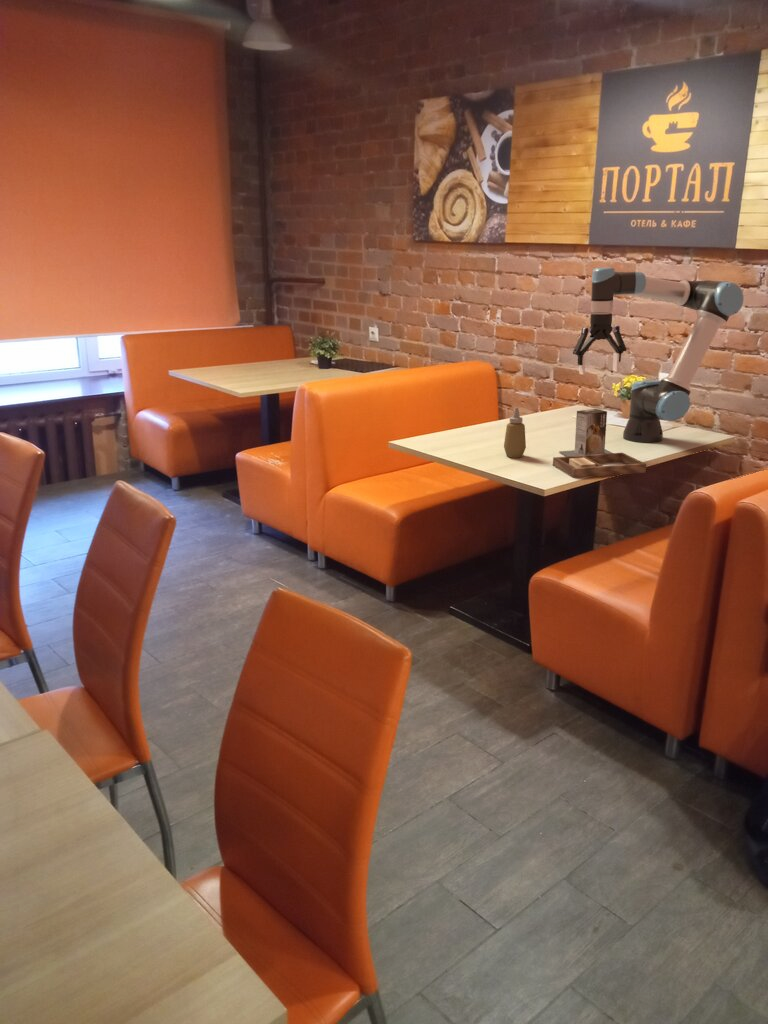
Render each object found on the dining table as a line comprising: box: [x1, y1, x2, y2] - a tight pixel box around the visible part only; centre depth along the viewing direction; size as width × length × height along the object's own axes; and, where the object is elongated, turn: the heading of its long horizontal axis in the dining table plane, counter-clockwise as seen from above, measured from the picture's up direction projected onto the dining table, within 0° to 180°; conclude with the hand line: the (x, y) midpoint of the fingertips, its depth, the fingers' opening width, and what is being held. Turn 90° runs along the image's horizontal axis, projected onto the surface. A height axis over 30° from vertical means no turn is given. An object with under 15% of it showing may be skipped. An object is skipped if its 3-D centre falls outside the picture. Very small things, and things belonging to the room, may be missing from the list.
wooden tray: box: [552, 452, 647, 479], centre depth 284 cm, size 27×16×3 cm, turn 103°
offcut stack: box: [569, 458, 596, 468], centre depth 282 cm, size 6×10×4 cm, turn 13°
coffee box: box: [574, 408, 608, 455], centre depth 299 cm, size 9×6×16 cm
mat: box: [559, 448, 613, 457], centre depth 302 cm, size 18×13×1 cm
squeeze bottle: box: [503, 407, 527, 459], centre depth 299 cm, size 8×8×18 cm
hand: (598, 372), depth 299 cm, fingers open, 13 cm apart
